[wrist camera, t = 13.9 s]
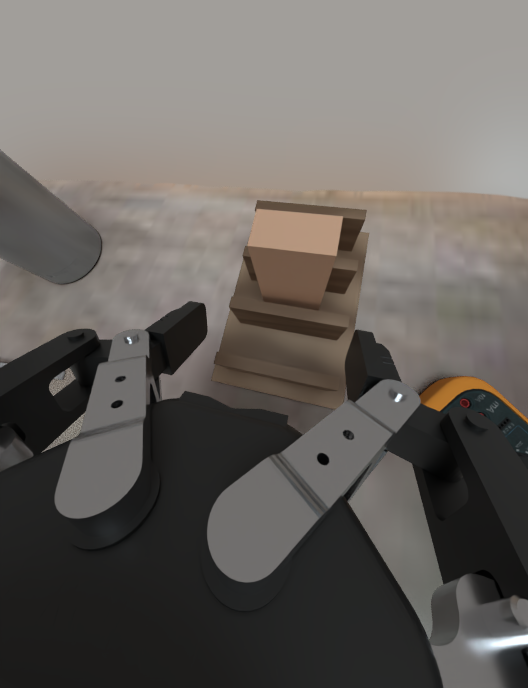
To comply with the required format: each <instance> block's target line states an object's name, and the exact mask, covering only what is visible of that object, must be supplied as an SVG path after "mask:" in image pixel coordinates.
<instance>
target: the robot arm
mask: <svg viewBox="0 0 528 688" xmlns="http://www.w3.org/2000/svg"><path fill="white" fill-rule="evenodd" d="M100 252H101V239H100V236H99V234H98V232H97V231H96V230H95V229H94V228H93V227H92V226H91V225H89V224H88V223H87V222H86V221H85V220H83V219H82V218H81V217H80V216H79V215H78V214H76V213H75V212H74V211H73V210H72V209H70V208H69V207H68V206H67V205H66V204H65V203H63V202H62V201H61V200H60V199H59V198H57V197H56V196H55V195H54V194H53V193H51V192H50V191H49V190H48V189H47V188H45V187H44V186H43V185H42V184H41V183H39V182H38V181H37V180H36V179H35V178H34V177H32V176H31V175H30V174H29V173H27V172H26V171H25V170H24V169H23V168H22V167H20V166H19V165H18V164H17V163H16V162H14V161H13V160H12V159H11V158H10V157H8V156H7V155H6V154H5V153H4V152H2V151H1V150H0V258H1V259H3V260H6V261H8V262H10V263H12V264H14V265H16V266H18V267H21V268H23V269H25V270H27V271H29V272H31V273H34V274H36V275H38V276H40V277H42V278H44V279H46V280H49V281H51V282H53V283H58V284H66V283H70V282H73V281H76V280H78V279H80V278H81V277H83V276H84V275H85V274H87V273H88V272H89V271H90V270H91V269H92V267H93V266H94V265H95V263H96V261H97V260H98V258H99V255H100ZM206 335H207V317H206V307H205V305H204V304H203V303H198V302H192V301H189V302H188V303H187V304H185V305H184V306H182V307H181V308H179V309H176V310H174V311H171V312H170V313H168V314H167V315H165V317H162V318H161V319H160V320H158V321H157V322H155V323H154V324H152V325H151V326H150V327H148V328H147V329H145V330H140V329H134V330H127V331H124V332H121V333H119V334H117V335H116V336H115V337H114V338H113V340H99V339H98V336H97V334H96V332H95V331H94V330H92V329H77V330H73V331H69V332H66V333H64V334H62V335H60V336H58V337H56V338H54V339H53V340H51V341H49V342H47V343H45V344H43V345H41V346H40V347H38V348H36V349H34V350H32V351H30V352H28V353H26V354H25V355H23V356H21V357H19V358H17V359H15V360H13V361H12V362H10V363H8V364H6V365H4V366H2V367H0V688H528V469H527V468H526V466H525V465H524V463H523V462H522V460H521V459H520V457H519V456H518V455H517V453H516V452H515V450H514V449H513V447H512V446H511V444H510V443H509V441H508V440H507V439H506V437H505V436H504V434H503V433H502V431H501V430H500V429H499V427H498V426H497V425H496V424H494V423H493V422H492V421H491V420H489V419H488V418H487V417H485V416H483V415H482V414H480V413H478V412H476V411H474V410H471V409H468V408H464V407H453V408H451V409H450V410H449V412H448V413H447V414H445V413H442V412H440V411H437V410H435V409H433V408H430V407H428V406H426V405H423V404H422V403H421V400H420V397H419V395H418V394H417V393H416V391H414V390H413V389H412V388H411V387H409V386H408V385H406V384H404V383H402V382H401V379H400V377H399V374H398V372H397V369H396V367H395V365H394V362H393V360H392V357H391V355H390V352H389V351H388V350H387V349H386V348H385V347H384V346H383V345H382V344H379V343H376V341H375V338H374V335H373V333H372V332H367V331H362V330H355V332H354V334H353V337H352V340H351V343H350V346H349V349H348V352H347V355H346V359H345V376H346V386H347V396H348V400H347V401H346V402H345V403H343V404H342V405H341V406H339V407H338V408H337V409H336V410H334V411H333V412H332V413H331V414H329V415H328V416H327V417H326V418H324V419H323V420H322V421H320V422H319V423H318V424H317V425H315V426H314V427H313V428H312V429H310V430H309V431H308V432H307V433H305V434H304V435H302V434H301V433H300V432H299V431H297V430H296V429H294V428H293V427H291V426H289V425H287V420H288V416H287V415H283V414H279V413H274V412H270V411H266V410H262V409H234V408H230V407H228V406H226V405H224V404H222V403H220V402H218V401H216V400H214V399H212V398H210V397H208V396H204V395H200V394H196V393H191V392H187V391H185V392H184V393H183V394H182V396H181V397H180V398H176V399H167V400H162V393H161V380H160V376H159V375H160V374H161V373H164V374H169V375H173V374H174V373H175V371H176V370H177V369H178V368H179V367H180V366H181V365H182V364H183V363H184V361H185V360H186V359H187V358H188V357H189V356H190V355H191V354H192V353H193V351H194V350H195V349H196V348H197V347H198V346H199V345H200V344H201V343H202V341H203V340H204V339H205V338H206ZM69 367H70V369H71V370H72V372H73V374H74V376H75V378H76V379H75V380H74V381H73V382H71V383H70V384H69V385H67V386H66V387H65V388H63V389H62V390H61V391H59V392H58V393H57V394H56V395H54V396H53V395H52V394H51V392H50V391H49V384H50V382H51V381H52V379H53V378H55V377H56V376H58V375H59V374H60V373H62V372H63V371H65V370H66V369H68V368H69ZM85 411H86V413H85V417H84V420H83V424H82V428H81V431H80V434H79V435H78V436H76V437H75V438H74V439H71V440H69V441H67V442H65V443H62V444H60V445H58V446H56V447H54V448H51V449H49V450H47V451H45V452H42V451H44V450H45V449H46V448H47V447H48V446H49V445H50V444H51V443H52V442H53V441H54V440H55V439H56V438H57V437H59V436H60V435H61V434H62V433H63V432H64V431H65V430H66V429H67V428H68V427H69V426H70V425H71V424H72V423H74V422H75V421H76V420H77V419H78V418H79V417H80V416H81V415H82V414H83V413H84V412H85ZM388 451H390V452H391V453H393V454H395V455H397V456H399V457H401V458H403V459H405V460H407V461H409V462H410V463H412V465H413V469H414V472H415V476H416V480H417V484H418V488H419V492H420V496H421V499H422V503H423V507H424V511H425V515H426V519H427V522H428V526H429V530H430V534H431V538H432V542H433V546H434V549H435V553H436V557H437V561H438V565H439V569H440V572H441V576H442V580H443V584H444V585H441V586H440V587H438V588H437V589H436V590H435V591H434V593H433V595H432V599H431V611H432V621H433V624H432V633H431V637H430V639H428V637H427V634H426V632H425V630H424V628H423V626H422V624H421V622H420V620H419V618H418V616H417V614H416V612H415V610H414V609H413V607H412V605H411V604H410V602H409V600H408V599H407V597H406V595H405V594H404V592H403V591H402V589H401V587H400V586H399V584H398V583H397V581H396V579H395V578H394V576H393V574H392V573H391V571H390V570H389V568H388V566H387V565H386V563H385V561H384V560H383V558H382V557H381V555H380V553H379V552H378V550H377V549H376V547H375V545H374V544H373V542H372V540H371V539H370V537H369V536H368V534H367V532H366V531H365V529H364V528H363V526H362V524H361V523H360V521H359V519H358V518H357V516H356V515H355V513H354V511H353V510H352V508H351V506H350V505H349V503H348V502H349V501H350V500H351V498H352V497H353V496H354V494H355V493H356V492H357V490H358V489H359V488H360V486H361V485H362V484H363V482H364V481H365V480H366V478H367V477H368V476H369V475H370V473H371V472H372V471H373V470H374V468H375V467H376V466H377V465H378V463H379V462H380V461H381V460H382V458H383V457H384V456H385V455H386V454H387V452H388ZM41 452H42V453H41Z"/></svg>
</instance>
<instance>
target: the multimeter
mask: <svg viewBox="0 0 528 688" xmlns="http://www.w3.org/2000/svg"><path fill="white" fill-rule="evenodd" d="M419 397H420V400H421V403H422V404H423V405H426V406H428V407H430V408H433V409H435V410H437V411H440V412H442V413H445V414H447V413H448V412H449V410H450V409H451V408H453V407H464V408H468V409H471V410H474V411H476V412H478V413H480V414H482V415H483V416H485V417H487V418H488V419H489V420H491V421H492V422H493V423H494V424H496V425H497V426H498V427H499V429H500V430H501V431H502V433H503V434H504V436H505V437H506V439H507V440H508V441H509V443H510V444H511V446H512V447H513V449H514V450H515V452H516V453H517V455H518V456H519V457H520V459H521V460H522V462H523V463H524V465H525V466H526V468H527V469H528V419H527V418H526V417H525V416H524V415H523V414H522V413H521V412H520V411H518V410H517V409H516V408H515V407H514V406H513V405H512V404H511V403H510V402H509V401H508V400H507V399H505V398H504V397H503V396H502V395H501V394H500V393H499V392H498V391H497V390H496V389H495V388H493V387H492V386H491V385H489V384H488V383H486V382H485V381H483V380H481V379H478V378H475V377H468V376H459V377H449V378H445V379H441V380H438V381H437V382H435V383H433V384H432V385H431V386H429V387H428V388H427V389H426V390H425V391H424V392H423V393H422V394H421V395H420V396H419Z"/></svg>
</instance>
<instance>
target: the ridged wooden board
mask: <svg viewBox="0 0 528 688" xmlns="http://www.w3.org/2000/svg"><path fill="white" fill-rule="evenodd" d="M257 209H265V210H276V211H288V212H299V213H311V214H322V215H334V216H343V220H342V226H341V232H340V238H339V244H338V250H337V256H336V259H335V262H334V265H333V268H332V271H331V274H330V277H329V280H328V283H327V286H326V289H325V292H324V295H323V298H322V301H321V304H320V307H319V310H311V309H305V308H299V307H293V306H287V305H281V304H275V303H269V302H264V300H263V297H262V294H261V290H260V287H259V284H258V280H257V277H256V273H255V270H254V267H253V263H252V260H251V257H250V253H249V250H248V246H245V249H244V252H243V258H244V259H243V263H242V266H241V270H240V274H239V278H238V281H237V285H236V289H235V293H234V297H233V296H232V297H231V301H230V305H229V308H230V312H229V315H228V319H227V323H226V327H225V330H224V334H223V338H222V342H221V345H220V349H219V352H217V353H216V357H215V361H214V364H215V368H214V372H213V375H212V379H211V381H216V382H220V383H224V384H228V385H233V386H237V387H241V388H246V389H250V390H254V391H258V392H263V393H267V394H271V395H276V396H280V397H284V398H288V399H293V400H297V401H301V402H306V403H310V404H314V405H318V406H323V407H327V408H331V409H337V408H338V407H339V406H341V405H342V404H343V402H344V395H345V389H346V376H345V359H346V355H347V352H348V349H349V346H350V343H351V340H352V337H353V334H354V329H355V323H356V316H357V310H358V303H359V296H360V290H361V283H362V276H363V270H364V263H365V257H366V250H367V243H368V237H369V233H364V232H360V230H361V228H362V226H363V223H364V221H365V217H366V211H367V210H360V209H349V208H338V207H327V206H315V205H304V204H293V203H282V202H271V201H260V200H257V204H256V208H255V211H256V210H257ZM249 237H250V236H249ZM248 241H249V240H248ZM247 245H248V244H247Z"/></svg>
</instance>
